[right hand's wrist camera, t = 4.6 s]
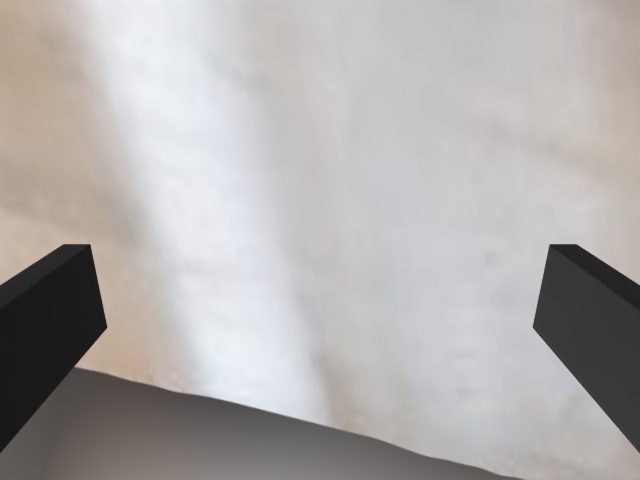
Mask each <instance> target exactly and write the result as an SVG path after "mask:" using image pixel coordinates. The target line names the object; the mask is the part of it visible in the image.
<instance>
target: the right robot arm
mask: <svg viewBox="0 0 640 480" xmlns="http://www.w3.org/2000/svg"><path fill="white" fill-rule="evenodd" d="M106 329H107V323H106V319H105V314H104V309H103V304H102V299H101V294H100V289H99V284H98V280H97V275H96V270H95V265H94V260H93V255H92V250H91V245H90V244H63V245H62V246H60V247H59V248H57V249H56V250H54V251H52V252H51V253H49V254H48V255H46V256H45V257H43V258H42V259H40V260H39V261H37V262H36V263H34V264H32V265H31V266H29V267H28V268H26V269H25V270H23V271H22V272H20V273H19V274H17V275H15V276H14V277H12V278H11V279H9V280H8V281H6V282H5V283H3V284H2V285H0V453H1V452H2V450H3V449H4V448H5V447H6V446H7V445H8V444H9V442H10V441H11V440H12V439H13V438H14V436H15V435H16V434H17V433H18V432H19V431H20V429H21V428H22V427H23V426H24V425H25V424H26V422H27V421H28V420H29V419H30V418H31V416H32V415H33V414H34V413H35V412H36V411H37V410H38V408H39V407H40V406H41V405H42V404H43V402H44V401H45V400H46V399H47V398H48V397H49V395H50V394H51V393H52V392H53V391H54V390H55V388H56V387H57V386H58V385H59V384H60V383H61V381H62V380H63V379H64V378H65V377H66V375H67V374H68V373H69V372H70V371H71V370H72V368H73V367H74V366H75V365H76V364H77V363H78V361H79V360H80V359H81V358H82V357H83V356H84V354H85V353H86V352H87V351H88V350H89V348H90V347H91V346H92V345H93V344H94V343H95V341H96V340H97V339H98V338H99V337H100V336H101V334H102V333H103V332H104V331H105V330H106ZM533 329H534V330H535V331H536V332H537V333H538V334H539V336H540V337H541V338H542V339H543V340H544V341H545V343H546V344H547V345H548V346H549V347H550V349H551V350H552V351H553V352H554V353H555V354H556V356H557V357H558V358H559V359H560V360H561V361H562V363H563V364H564V365H565V366H566V367H567V368H568V370H569V371H570V372H571V373H572V374H573V375H574V377H575V378H576V379H577V380H578V381H579V383H580V384H581V385H582V386H583V387H584V388H585V390H586V391H587V392H588V393H589V394H590V395H591V397H592V398H593V399H594V400H595V401H596V402H597V404H598V405H599V406H600V407H601V408H602V410H603V411H604V412H605V413H606V414H607V415H608V417H609V418H610V419H611V420H612V421H613V422H614V424H615V425H616V426H617V427H618V428H619V429H620V431H621V432H622V433H623V434H624V435H625V436H626V438H627V439H628V440H629V441H630V442H631V444H632V445H633V446H634V447H635V448H636V449H637V451H638V452H639V453H640V285H638V284H637V283H635V282H634V281H632V280H631V279H629V278H628V277H626V276H625V275H623V274H621V273H620V272H618V271H617V270H615V269H614V268H612V267H611V266H609V265H608V264H606V263H604V262H603V261H601V260H600V259H598V258H597V257H595V256H594V255H592V254H591V253H589V252H588V251H586V250H584V249H583V248H581V247H580V246H578V245H577V244H550V245H549V250H548V255H547V260H546V265H545V270H544V275H543V280H542V284H541V289H540V294H539V299H538V304H537V309H536V314H535V319H534V323H533Z"/></svg>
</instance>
